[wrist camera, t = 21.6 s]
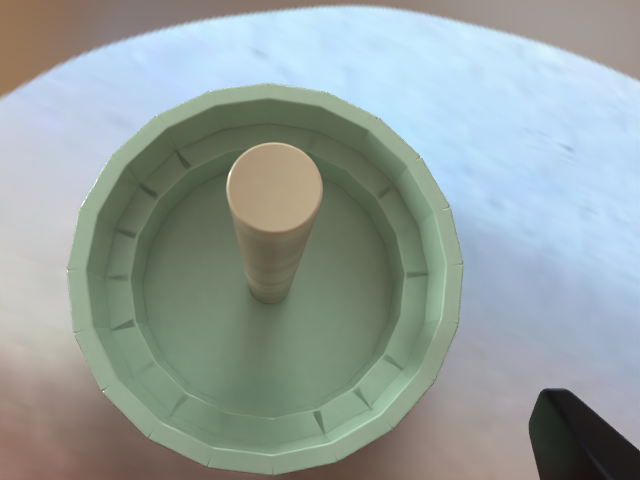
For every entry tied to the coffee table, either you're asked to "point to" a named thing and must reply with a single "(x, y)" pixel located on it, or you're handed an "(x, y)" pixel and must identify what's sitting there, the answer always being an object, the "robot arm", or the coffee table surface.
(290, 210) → the stick
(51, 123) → the coffee table surface
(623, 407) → the coffee table surface
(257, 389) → the bowl
